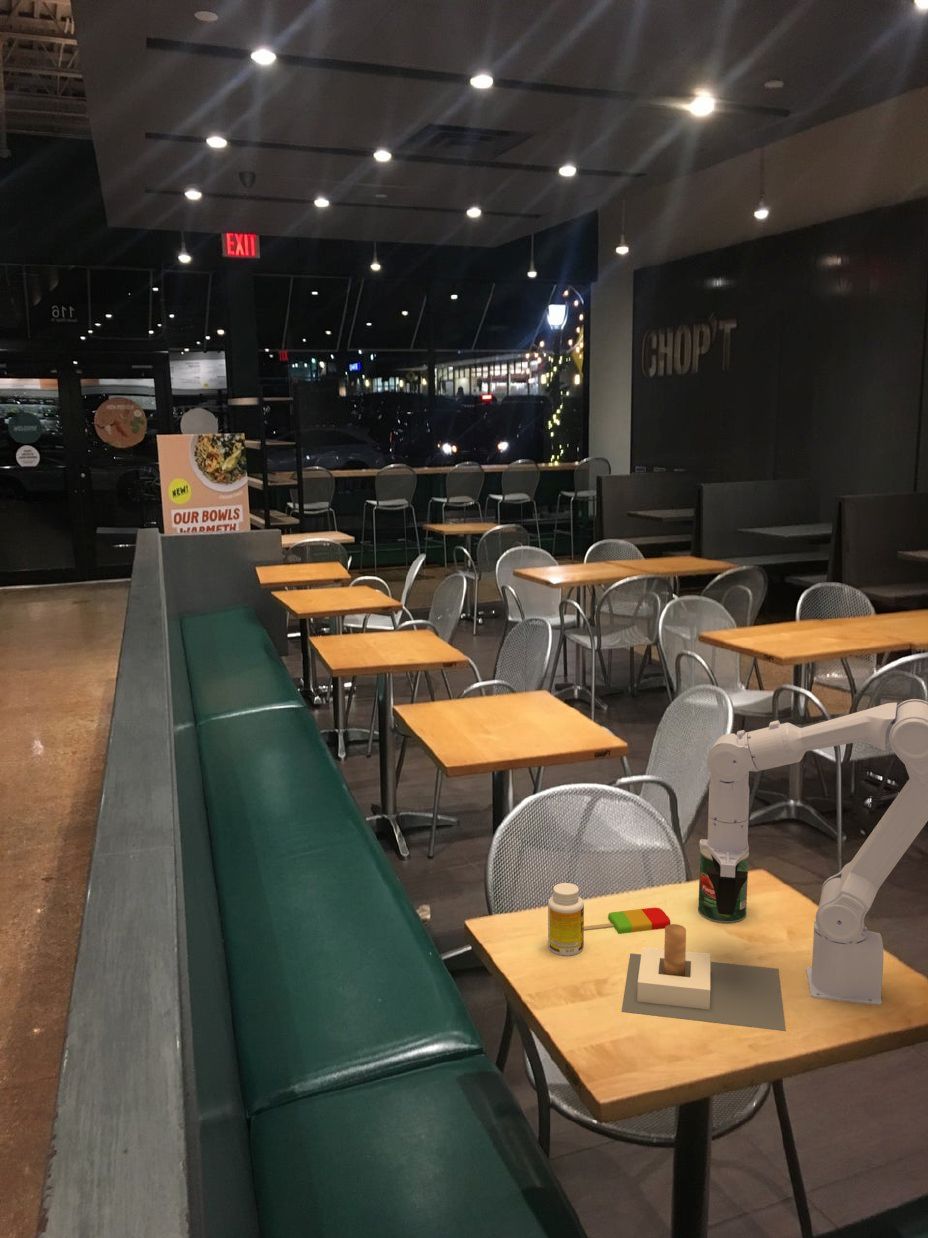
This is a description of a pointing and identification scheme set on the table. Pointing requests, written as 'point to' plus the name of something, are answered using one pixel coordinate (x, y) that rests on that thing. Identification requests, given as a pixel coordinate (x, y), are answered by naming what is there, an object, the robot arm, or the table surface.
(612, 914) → the popsicle
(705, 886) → the canned tomato
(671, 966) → the peg
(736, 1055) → the table surface
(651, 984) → the hole block
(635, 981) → the mat
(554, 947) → the supplement bottle
